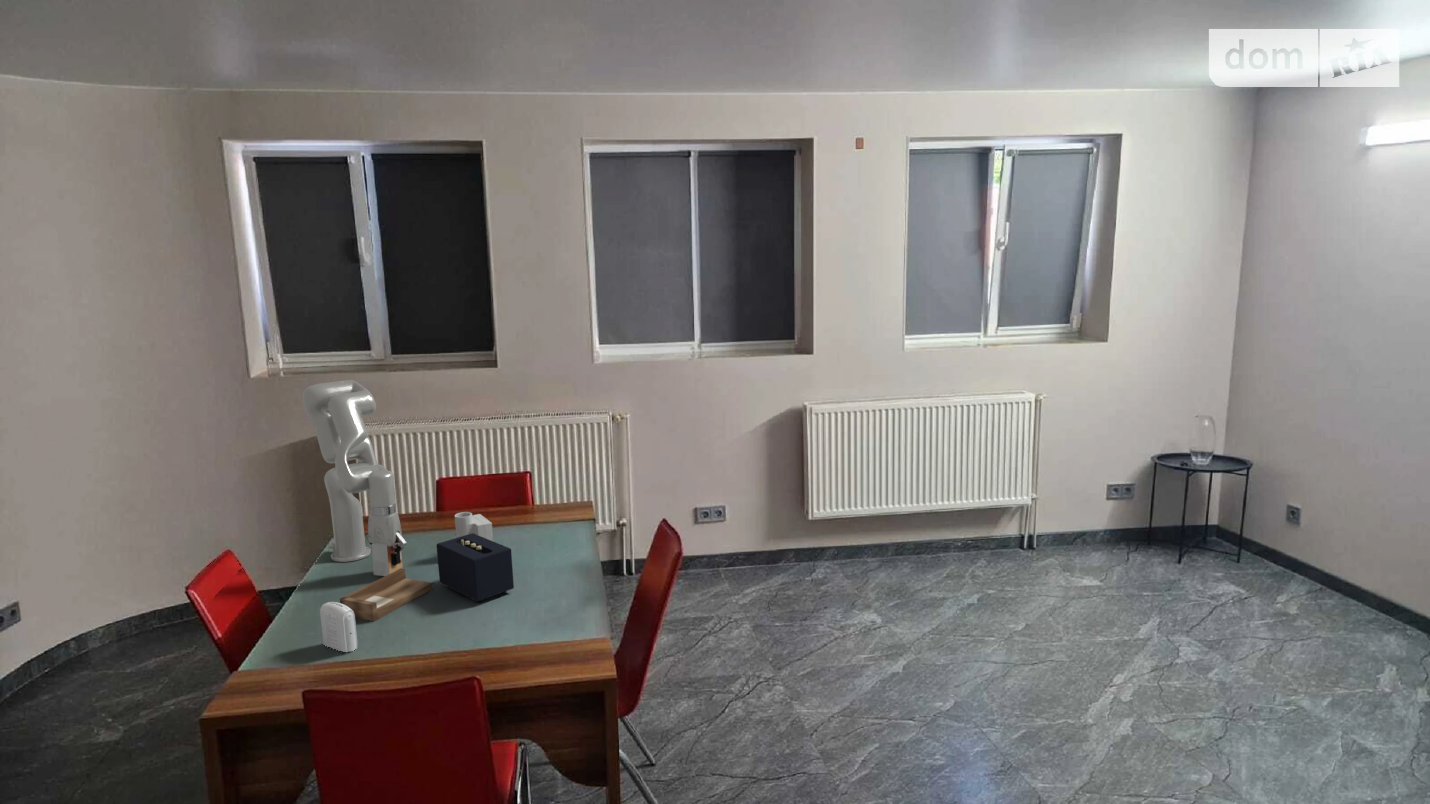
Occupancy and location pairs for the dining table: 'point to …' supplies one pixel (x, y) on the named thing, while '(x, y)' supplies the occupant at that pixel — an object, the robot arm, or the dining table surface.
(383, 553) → the small box
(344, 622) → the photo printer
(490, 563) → the speaker
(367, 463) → the robot arm
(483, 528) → the white desk organizer
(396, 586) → the wooden tray
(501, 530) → the dining table surface
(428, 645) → the dining table surface
